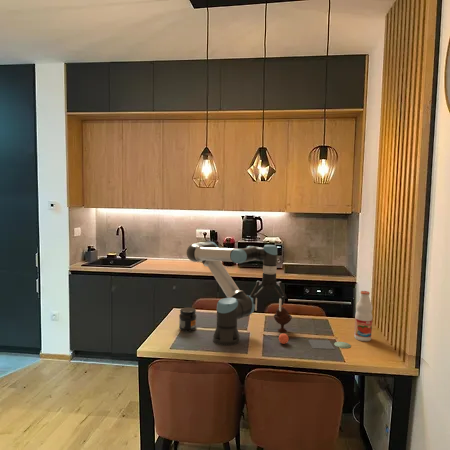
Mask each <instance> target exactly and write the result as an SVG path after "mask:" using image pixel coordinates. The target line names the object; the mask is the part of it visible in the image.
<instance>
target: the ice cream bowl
mask: <svg viewBox="0 0 450 450" xmlns="http://www.w3.org/2000/svg"><path fill="white" fill-rule="evenodd" d="M273 318H274V321H275V322H276V323H277V324H278V325H280V328H278V329H277V332H279V333H283V332H284V333H287V331H288V329H286V328H285V325H288V324H289V323H290V322H291V321H292V318H293V316H292V315H291V314H289V311H288V310H287V309H286V308H285V307H282V306H281V311H279V307H277V308H276V312H275V313H274V314H273Z"/></svg>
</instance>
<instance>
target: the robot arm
mask: <svg viewBox="0 0 450 450" xmlns="http://www.w3.org/2000/svg"><path fill="white" fill-rule="evenodd" d="M186 257H187V259H188V260H189V261H191V262H193V263H200V262H201V263H202V264H203V266H204V267H207V268H208V269H209V270H210V271H209V272H210V273H211V274H212V275H213V277H214V279H215V280H216V282H217V283H218V285H219V287H220V288H221V290H222V292H223V293H224V294H225V296H226V297H223V298H221V299H219V300H218V301H217V303H216V328H215V331H214V333H213V336H212V341H213V342H214V343H215V344H218V345H219V346H220V345H221V346H235V345H237V344H239V343H240V342H241V340H240V339H241V337H240V333H239V329H238V320H240V319H243V318H246V317H248V316H250V315H252V314H253V313H254V311H257V310H258V308H257V307H258V298H257V297H259V295H261V294H262V293H263V291H268V290H270V291H272V290H274V292H275V293H276V294H277V295H278V297H279V300H278V305H279V306H278V308H279V311H281V307H282V306H284V300H286V299H288V297H287V294H286V292H285V289H284V288H283V284H282V281H280V280H279V281H277V267H278V265H277V263H278V262H277V261H278V246H277V245H275V244H264V246H263V247H261V246H260V247H259V246H254V245H248V246H247V245H246V247H244V248H230V247H229V248H228V247H219V246H218V245H217V244H216V243H215V242H214V241H203V242H194V243H191V244H190V245H188V247H187V249H186ZM252 261H258V262H262V279H261V280H262V281H260V280H257V281H256V282H255V283H256V284H255V286H254V287H253V289H252V291H251V293H250V295H248V294H246V293H245V291H244V290H240V288H239V287H238V285H237V284H236V282H235V281H234V279H233V278H232V276H231V274H229V272H228V270H227V269H226V267H225V266H224V264H223V263H222V262H228V263H229V262H232V263H234V264H243V263H248V262H252ZM261 285H262V286H261ZM259 286H261V287H260V288H259ZM276 286H277V287H279V290H280V291H281V293H282V294H281V293H280V292H279V290H278V288H277V287H276ZM258 289H259V290H258ZM257 290H258V291H257Z"/></svg>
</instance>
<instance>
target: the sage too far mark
mask: <svg viewBox="0 0 450 450" xmlns="http://www.w3.org/2000/svg"><path fill="white" fill-rule="evenodd" d="M333 345H334V346H335V347H337V348H340V349H349V348H351V347H352V345H351V344H350V343H348V342H345V341H336V342H334V343H333Z"/></svg>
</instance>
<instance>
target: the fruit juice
mask: <svg viewBox="0 0 450 450" xmlns="http://www.w3.org/2000/svg"><path fill="white" fill-rule="evenodd" d="M370 293H371V292H370V291H368V290H361V291H360V297H359V298H358V299H359V300H358V301H357V303H356V304H355V308H356V312H355V318H354V333H353V334H354V338H355V340H358V341H360V342H370V341H371V340H372V333H373V331H372V329H373V313H372V311H373V310H374V309H373V308H374V307H373V304H372V302H371V300H370V299H371V298H370Z"/></svg>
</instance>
